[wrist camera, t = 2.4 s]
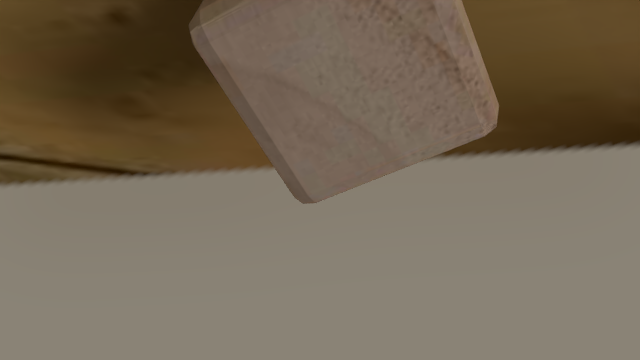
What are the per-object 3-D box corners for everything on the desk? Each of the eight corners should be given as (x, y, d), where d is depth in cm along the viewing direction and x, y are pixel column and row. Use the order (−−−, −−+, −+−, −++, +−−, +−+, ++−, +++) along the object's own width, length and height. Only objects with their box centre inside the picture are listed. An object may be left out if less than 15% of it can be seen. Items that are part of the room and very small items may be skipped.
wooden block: (310, 51, 42) (298, 218, 26) (240, -77, 37) (171, 30, 21) (435, -9, 39) (512, 135, 23) (379, -156, 34) (426, -105, 18)
